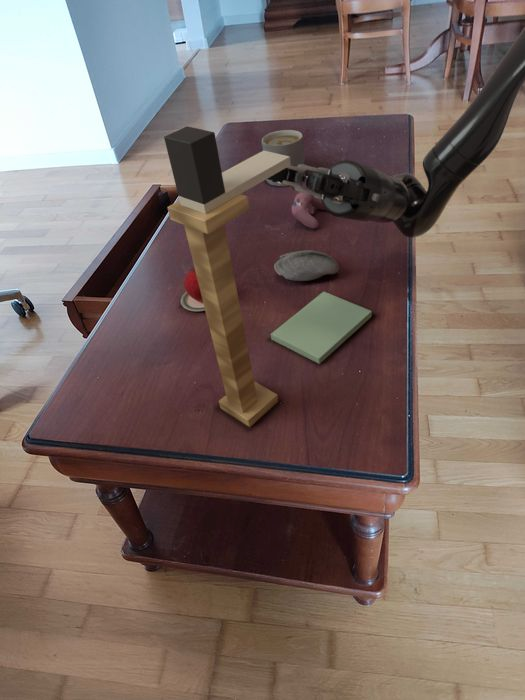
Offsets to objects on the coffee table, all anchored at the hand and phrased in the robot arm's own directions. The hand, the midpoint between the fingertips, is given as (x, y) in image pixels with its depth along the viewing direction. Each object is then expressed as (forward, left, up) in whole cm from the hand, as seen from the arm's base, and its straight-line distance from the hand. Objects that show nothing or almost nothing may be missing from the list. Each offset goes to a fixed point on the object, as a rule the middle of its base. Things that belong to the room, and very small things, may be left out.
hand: (290, 175), depth 61 cm
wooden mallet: (0, +8, +2) cm, 9 cm away
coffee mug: (+47, -50, -29) cm, 74 cm away
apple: (+25, -1, -29) cm, 39 cm away
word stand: (0, +13, -29) cm, 32 cm away
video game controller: (+27, -35, -29) cm, 53 cm away
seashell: (+14, -18, -29) cm, 37 cm away
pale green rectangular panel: (+2, -7, -29) cm, 30 cm away
